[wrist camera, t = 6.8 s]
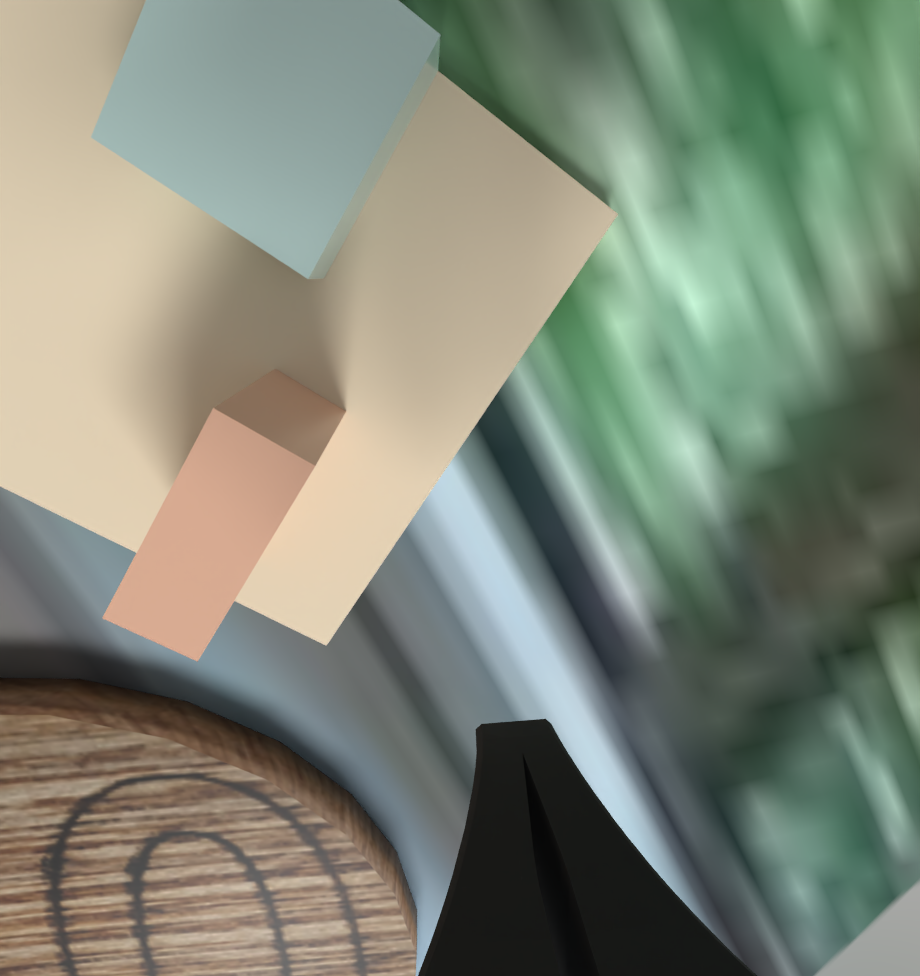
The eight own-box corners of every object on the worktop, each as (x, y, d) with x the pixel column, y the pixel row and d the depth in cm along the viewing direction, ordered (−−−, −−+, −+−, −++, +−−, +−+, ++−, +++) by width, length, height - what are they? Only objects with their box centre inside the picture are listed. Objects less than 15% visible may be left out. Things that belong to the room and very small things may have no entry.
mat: (610, 216, 14) (618, 213, 14) (329, 634, 18) (326, 645, 17) (84, -200, 11) (66, -226, 10) (-125, 409, 15) (-147, 414, 14)
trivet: (-103, 1147, 26) (-141, 1210, 25) (-445, 710, 18) (-543, 760, 16) (443, 1082, 27) (444, 1139, 25) (378, 631, 18) (373, 670, 16)
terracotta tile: (346, 411, 15) (315, 465, 11) (257, 560, 16) (197, 661, 12) (275, 368, 14) (213, 407, 10) (189, 525, 16) (102, 618, 11)
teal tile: (440, 34, 10) (207, -156, 9) (308, 279, 12) (90, 137, 11) (438, 70, 12) (244, -84, 11) (323, 278, 14) (140, 157, 13)
